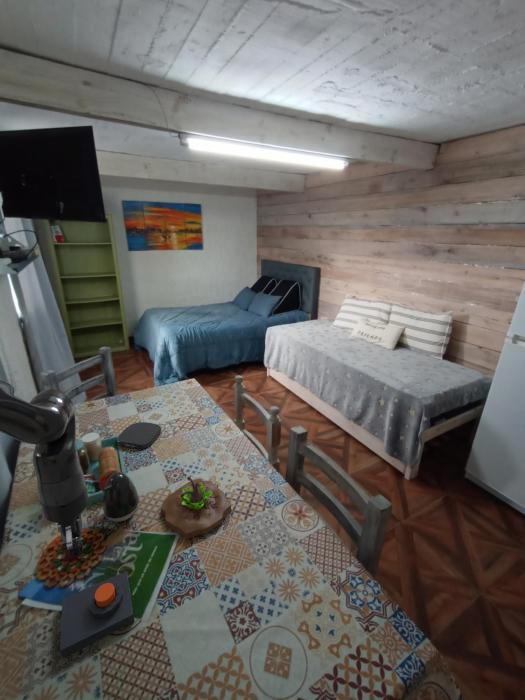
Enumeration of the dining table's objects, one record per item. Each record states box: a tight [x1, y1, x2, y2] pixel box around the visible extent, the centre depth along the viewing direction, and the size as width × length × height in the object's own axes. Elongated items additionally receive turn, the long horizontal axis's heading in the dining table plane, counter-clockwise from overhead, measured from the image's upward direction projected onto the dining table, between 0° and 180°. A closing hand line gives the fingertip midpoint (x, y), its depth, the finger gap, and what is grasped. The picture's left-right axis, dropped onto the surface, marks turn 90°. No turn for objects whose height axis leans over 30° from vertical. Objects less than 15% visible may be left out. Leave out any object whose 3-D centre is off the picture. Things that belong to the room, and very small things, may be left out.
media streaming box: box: [117, 421, 162, 450], centre depth 134 cm, size 15×15×3 cm
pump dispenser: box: [101, 471, 140, 523], centre depth 96 cm, size 10×10×15 cm
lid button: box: [95, 583, 115, 607], centre depth 72 cm, size 4×4×2 cm
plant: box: [160, 475, 232, 540], centre depth 99 cm, size 20×20×11 cm
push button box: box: [59, 570, 136, 659], centre depth 72 cm, size 14×11×4 cm
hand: (77, 553), depth 67 cm, fingers closed
